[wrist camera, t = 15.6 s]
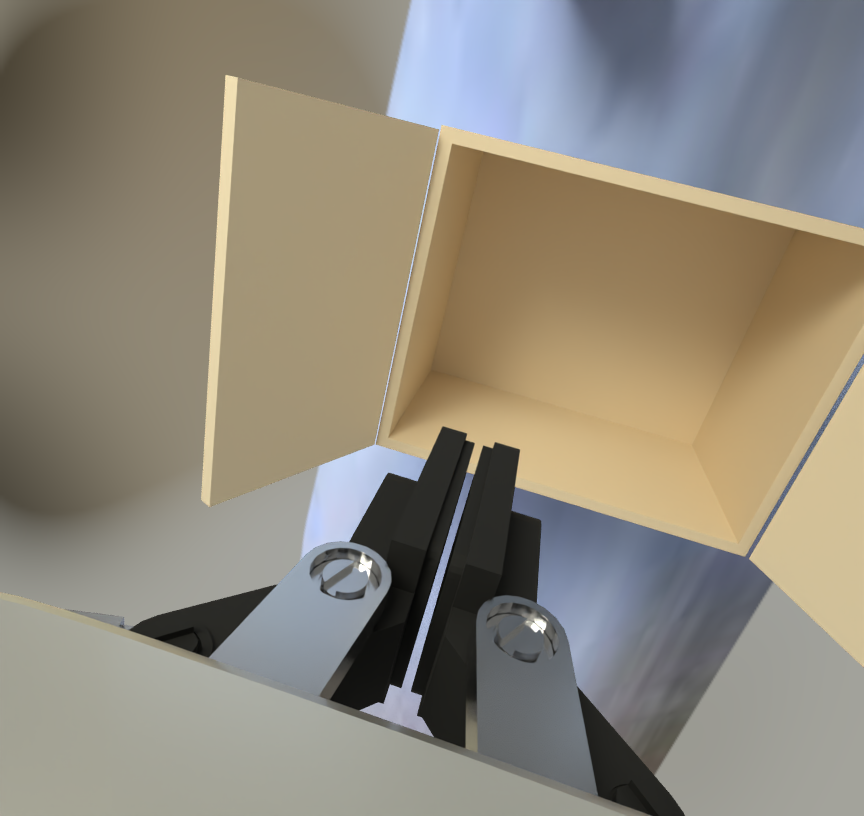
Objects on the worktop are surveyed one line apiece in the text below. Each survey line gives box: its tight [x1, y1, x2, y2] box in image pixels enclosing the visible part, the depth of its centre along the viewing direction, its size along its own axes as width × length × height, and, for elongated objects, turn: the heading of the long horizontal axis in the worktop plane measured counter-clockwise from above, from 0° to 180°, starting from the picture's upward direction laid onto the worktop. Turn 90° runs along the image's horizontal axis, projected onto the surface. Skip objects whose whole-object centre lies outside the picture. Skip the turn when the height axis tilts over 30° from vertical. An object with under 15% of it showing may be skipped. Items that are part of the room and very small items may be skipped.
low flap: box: [201, 75, 439, 507], centre depth 24 cm, size 16×10×1 cm
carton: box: [376, 125, 864, 557], centre depth 32 cm, size 16×20×12 cm
